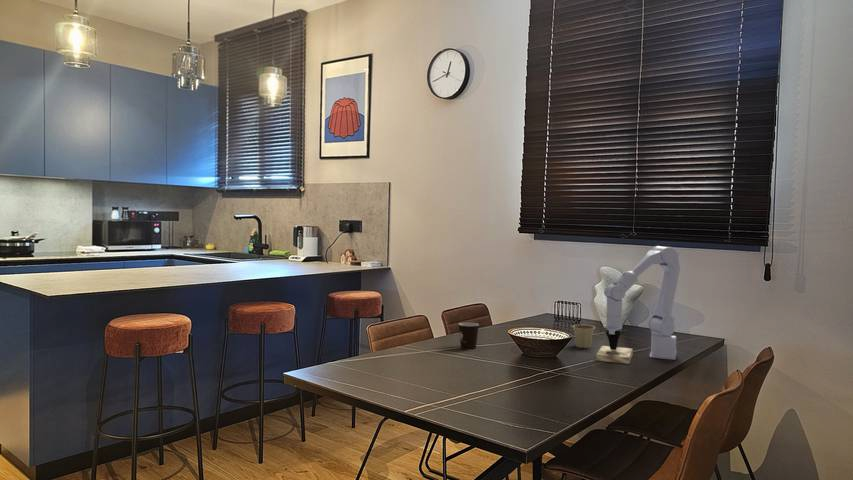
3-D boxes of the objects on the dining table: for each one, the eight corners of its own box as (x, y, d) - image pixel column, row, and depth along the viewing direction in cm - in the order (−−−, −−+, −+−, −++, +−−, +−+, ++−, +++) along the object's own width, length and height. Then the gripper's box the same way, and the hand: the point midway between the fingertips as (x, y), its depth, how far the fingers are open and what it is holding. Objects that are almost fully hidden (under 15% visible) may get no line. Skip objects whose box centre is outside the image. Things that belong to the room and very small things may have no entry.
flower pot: (589, 350, 245) (590, 329, 245) (568, 347, 251) (568, 326, 250) (598, 346, 252) (598, 326, 252) (577, 343, 258) (577, 323, 258)
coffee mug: (479, 350, 242) (479, 326, 242) (458, 350, 242) (458, 326, 242) (477, 344, 254) (477, 321, 254) (457, 344, 254) (457, 321, 254)
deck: (632, 354, 238) (632, 348, 238) (629, 363, 222) (629, 357, 222) (601, 351, 243) (602, 345, 243) (596, 360, 227) (596, 354, 227)
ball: (617, 360, 230) (619, 352, 230) (617, 361, 226) (620, 352, 227) (607, 357, 231) (610, 348, 231) (607, 357, 228) (610, 349, 228)
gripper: (605, 311, 239) (605, 344, 239) (601, 317, 226) (600, 352, 226) (624, 313, 236) (623, 346, 237) (620, 318, 223) (619, 354, 223)
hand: (613, 349), depth 231 cm, fingers closed
